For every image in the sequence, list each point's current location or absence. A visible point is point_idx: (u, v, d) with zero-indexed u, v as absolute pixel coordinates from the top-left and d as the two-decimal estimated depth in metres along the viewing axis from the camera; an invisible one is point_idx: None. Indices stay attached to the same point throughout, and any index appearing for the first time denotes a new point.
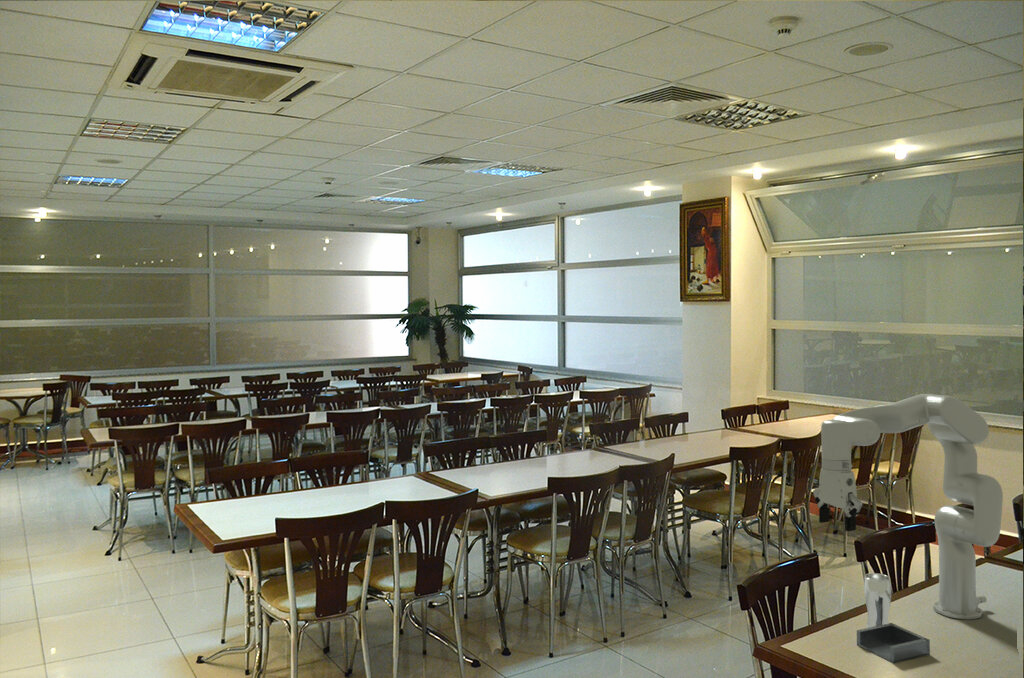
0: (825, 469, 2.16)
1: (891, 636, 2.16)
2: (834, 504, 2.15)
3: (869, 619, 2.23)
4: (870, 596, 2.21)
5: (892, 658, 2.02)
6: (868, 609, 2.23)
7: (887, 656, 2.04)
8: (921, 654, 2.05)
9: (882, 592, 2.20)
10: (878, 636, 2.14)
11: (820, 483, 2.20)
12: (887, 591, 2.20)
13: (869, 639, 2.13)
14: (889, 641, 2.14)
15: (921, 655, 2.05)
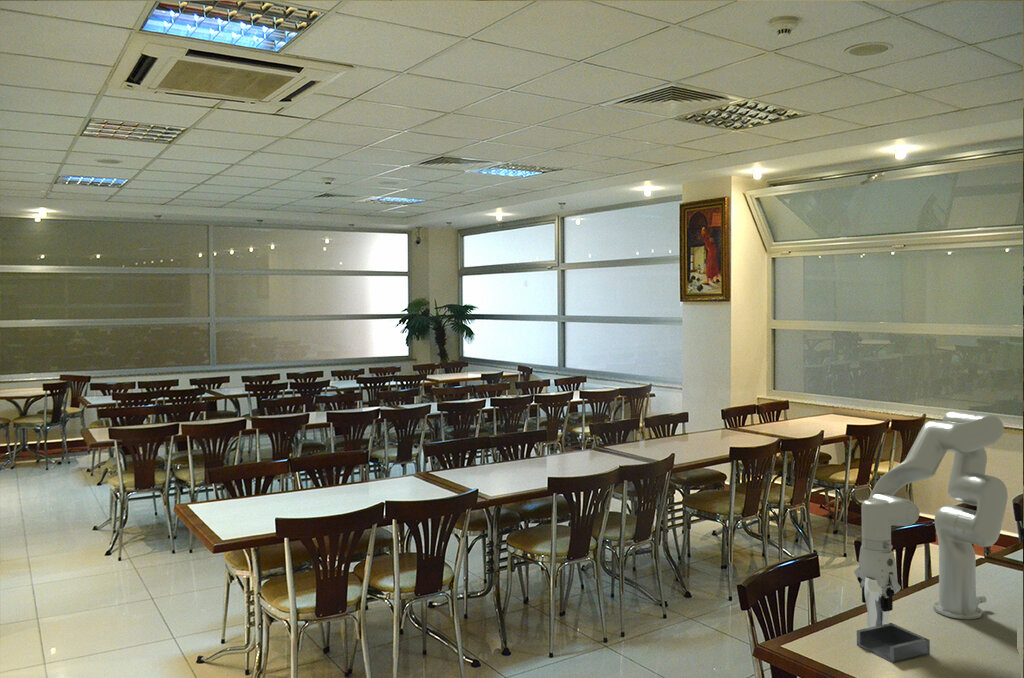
0: (865, 548, 2.21)
1: (891, 636, 2.16)
2: None
3: (869, 619, 2.23)
4: (870, 596, 2.21)
5: (892, 658, 2.02)
6: (868, 609, 2.23)
7: (887, 656, 2.04)
8: (921, 654, 2.05)
9: (882, 592, 2.20)
10: (878, 636, 2.14)
11: (860, 561, 2.26)
12: (887, 591, 2.20)
13: (869, 639, 2.13)
14: (889, 641, 2.14)
15: (921, 655, 2.05)
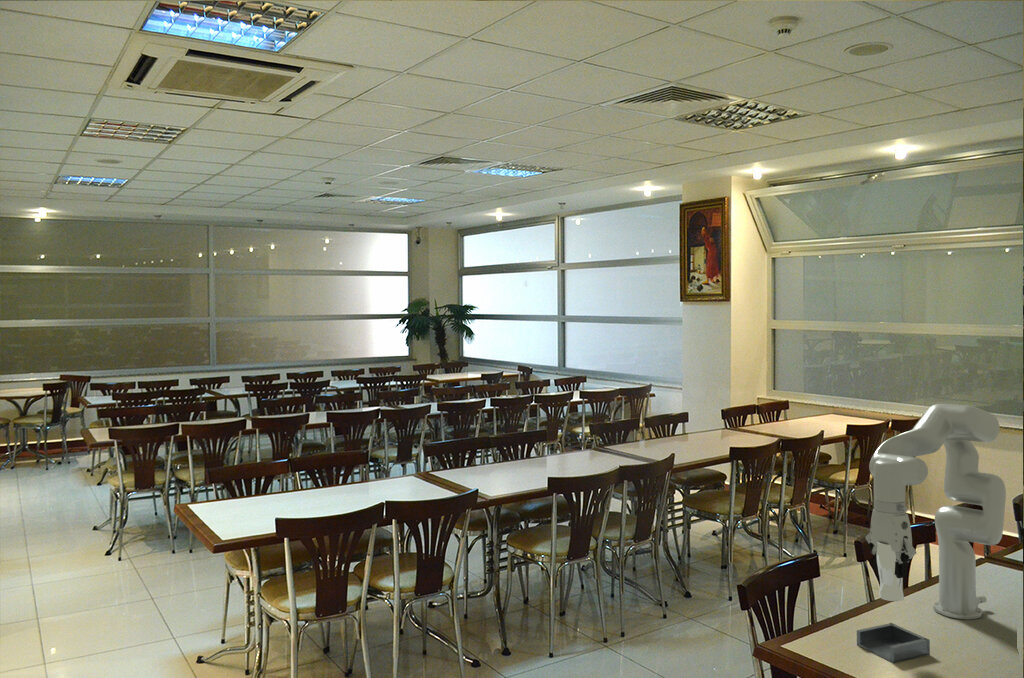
0: (878, 511, 2.07)
1: (891, 636, 2.16)
2: None
3: (882, 587, 2.08)
4: (883, 562, 2.07)
5: (892, 658, 2.02)
6: (881, 576, 2.09)
7: (887, 656, 2.04)
8: (921, 654, 2.05)
9: (895, 558, 2.05)
10: (878, 636, 2.14)
11: (872, 525, 2.11)
12: (901, 556, 2.06)
13: (869, 639, 2.13)
14: (889, 641, 2.14)
15: (921, 655, 2.05)
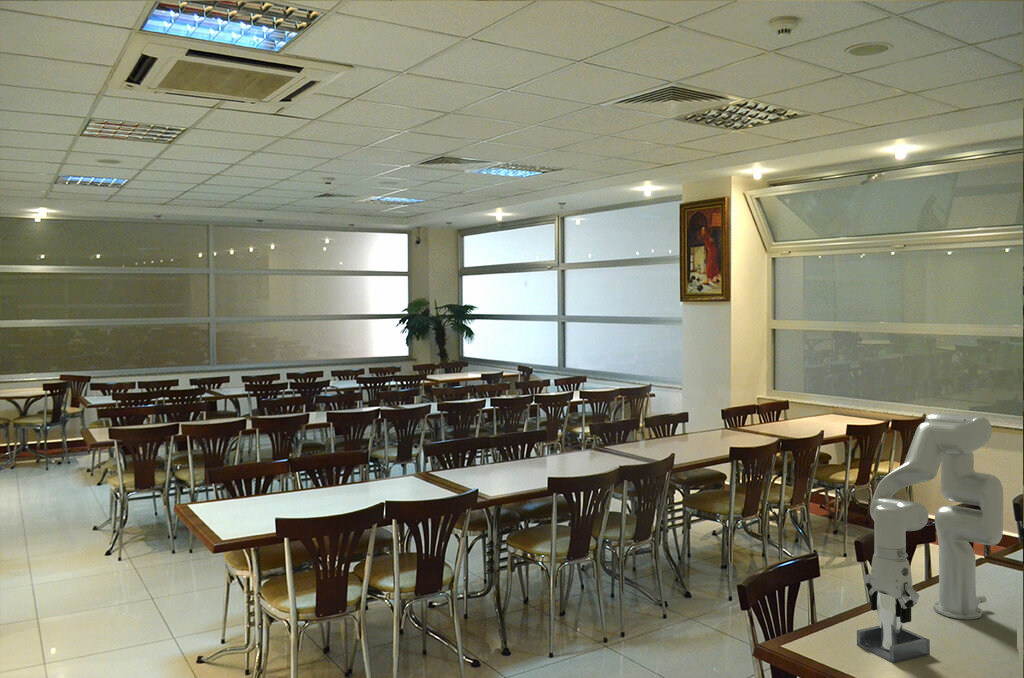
0: (879, 557, 2.07)
1: None
2: (888, 594, 2.07)
3: (883, 637, 2.09)
4: (883, 612, 2.08)
5: (892, 658, 2.02)
6: (881, 626, 2.09)
7: (887, 656, 2.04)
8: (921, 654, 2.05)
9: (896, 608, 2.06)
10: (878, 636, 2.14)
11: (872, 570, 2.12)
12: (901, 607, 2.06)
13: (869, 639, 2.13)
14: None
15: (921, 655, 2.05)
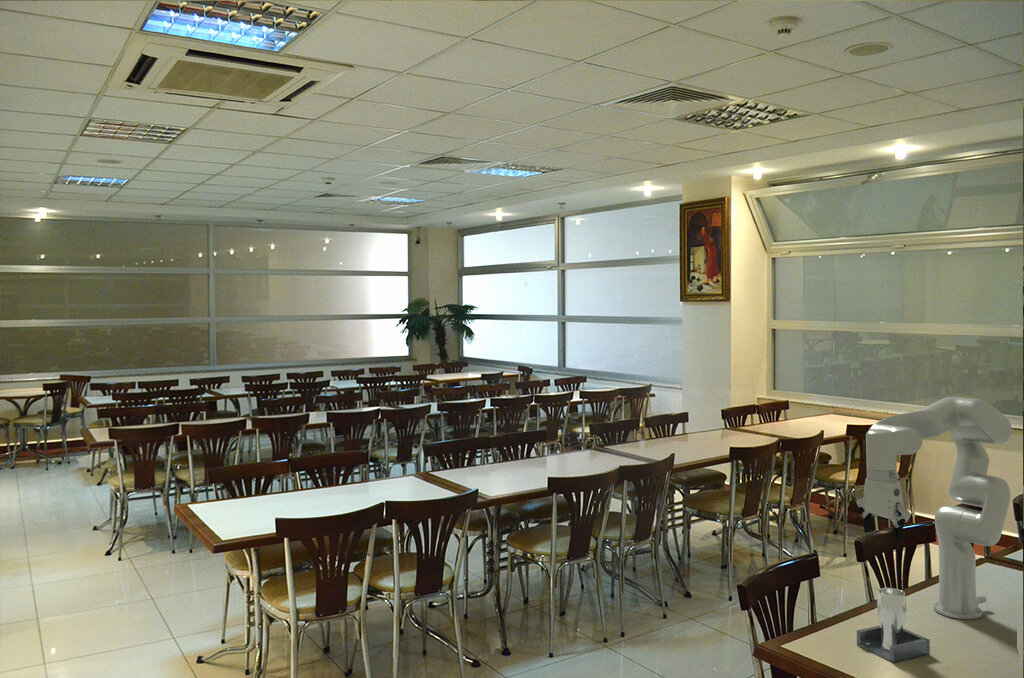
0: (871, 479, 2.15)
1: None
2: (881, 514, 2.14)
3: (883, 637, 2.09)
4: (884, 612, 2.07)
5: (892, 658, 2.02)
6: (881, 626, 2.09)
7: (887, 656, 2.04)
8: (921, 654, 2.05)
9: (896, 609, 2.06)
10: (878, 636, 2.14)
11: (865, 493, 2.19)
12: (902, 607, 2.06)
13: (869, 639, 2.13)
14: None
15: (921, 655, 2.05)
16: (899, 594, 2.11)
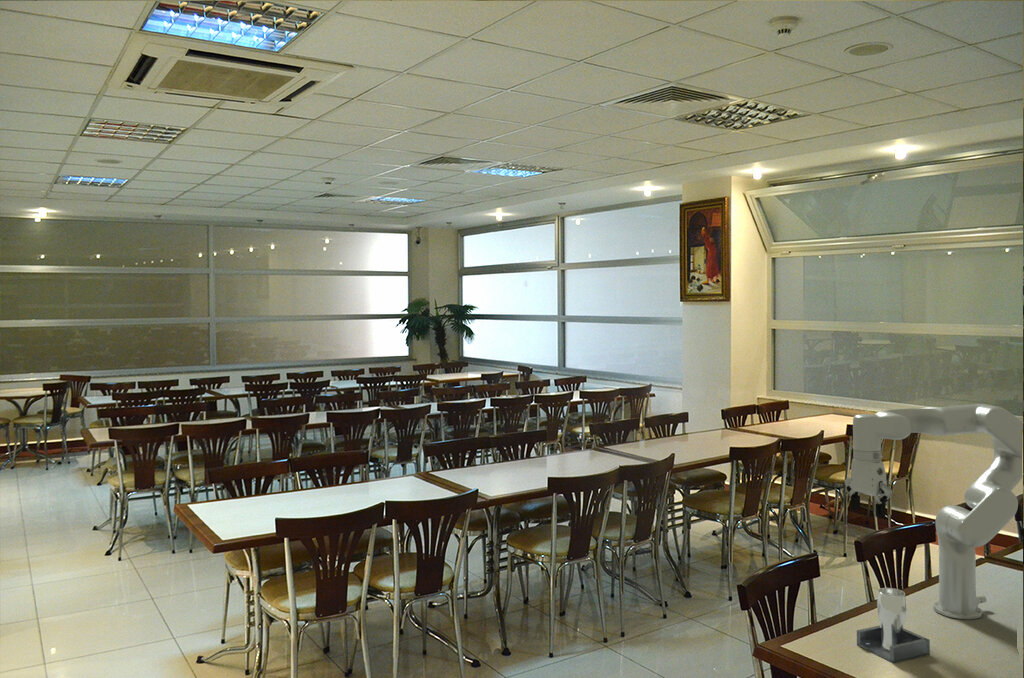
0: (857, 460, 2.33)
1: None
2: (865, 492, 2.32)
3: (883, 637, 2.09)
4: (884, 612, 2.07)
5: (892, 658, 2.02)
6: (881, 626, 2.09)
7: (887, 656, 2.04)
8: (921, 654, 2.05)
9: (896, 609, 2.06)
10: (878, 636, 2.14)
11: (852, 473, 2.37)
12: (902, 607, 2.06)
13: (869, 639, 2.13)
14: None
15: (921, 655, 2.05)
16: (899, 594, 2.11)
